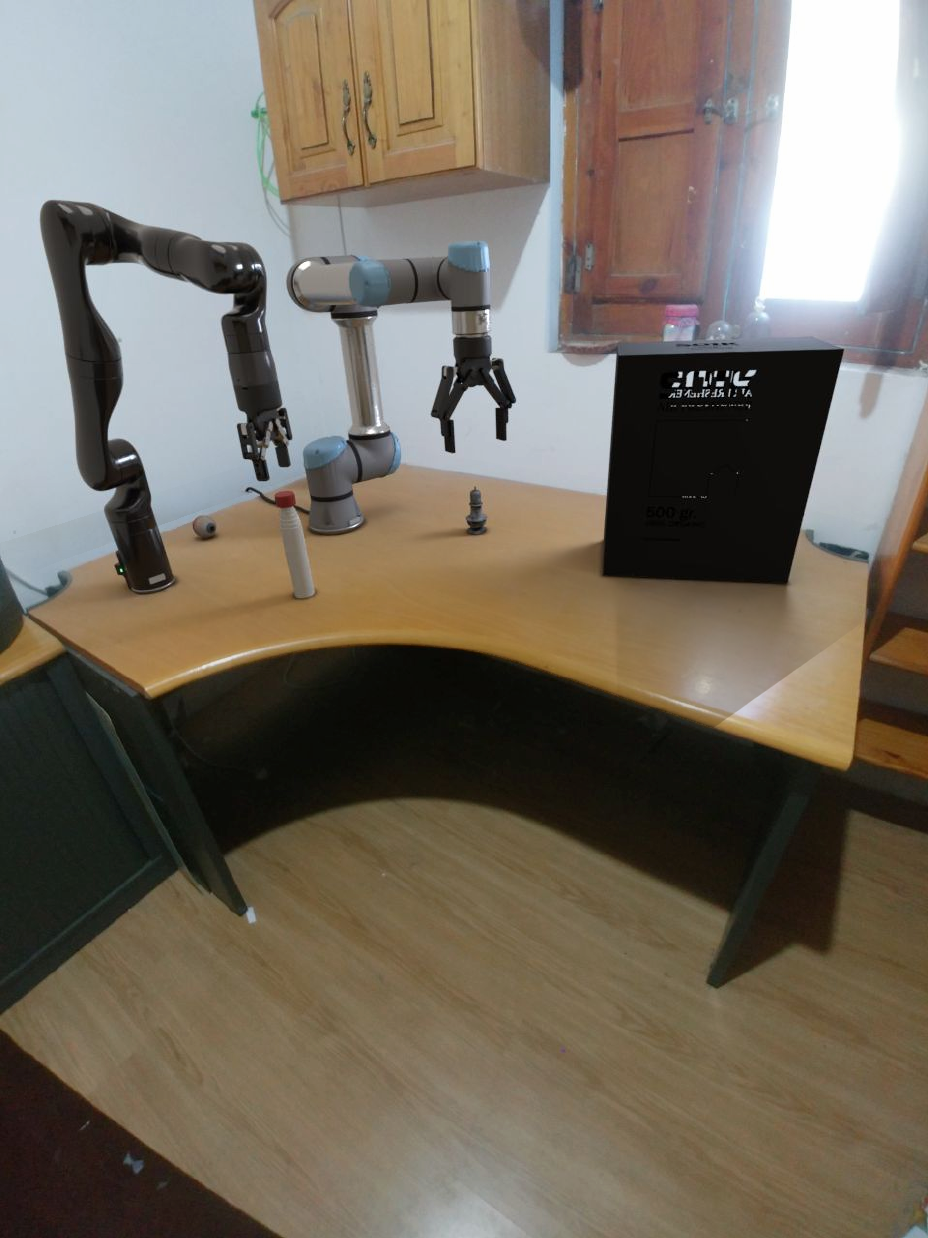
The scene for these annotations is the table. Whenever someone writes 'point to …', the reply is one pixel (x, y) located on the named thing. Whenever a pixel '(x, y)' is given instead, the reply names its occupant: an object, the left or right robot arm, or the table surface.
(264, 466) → the left robot arm
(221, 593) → the table surface
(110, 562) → the table surface
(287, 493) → the cap
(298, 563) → the bottle
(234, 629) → the table surface
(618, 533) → the cardboard box
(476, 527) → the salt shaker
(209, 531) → the eyeball
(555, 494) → the table surface
